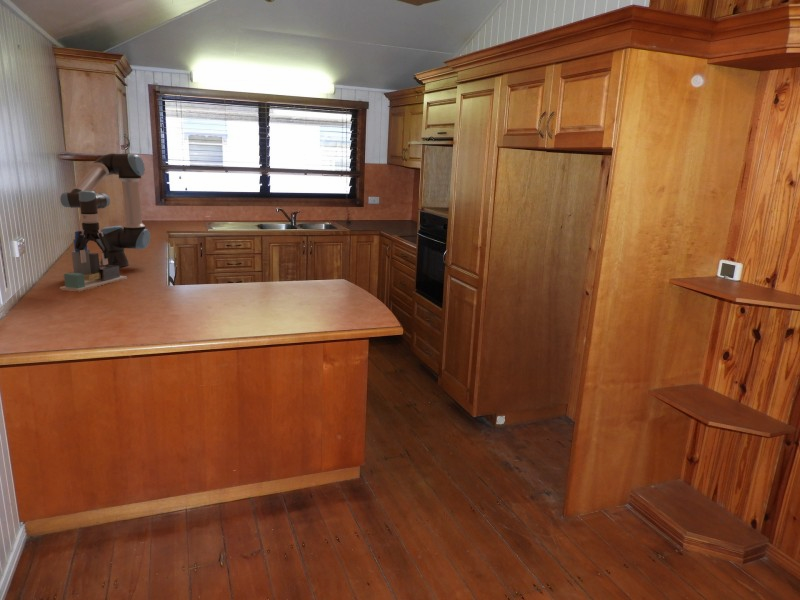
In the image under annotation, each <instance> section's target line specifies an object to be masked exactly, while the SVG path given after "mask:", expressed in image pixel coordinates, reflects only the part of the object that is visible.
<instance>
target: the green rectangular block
mask: <svg viewBox="0 0 800 600" xmlns="http://www.w3.org/2000/svg"><path fill="white" fill-rule="evenodd" d="M63 278H64V286H65V287H70V288H82V287H85V279H84V274H80V273H74V272H67V273H64V274H63Z"/></svg>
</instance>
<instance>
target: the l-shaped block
mask: <svg viewBox="0 0 800 600" xmlns="http://www.w3.org/2000/svg"><path fill="white" fill-rule="evenodd" d="M99 257H100V256H99V252H91V253H90V254H89V259H90V268H91V273H89V274H85V275H84V281H91V280H95V279H99V278H102V271H100V267H101V266H100V258H99Z"/></svg>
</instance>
